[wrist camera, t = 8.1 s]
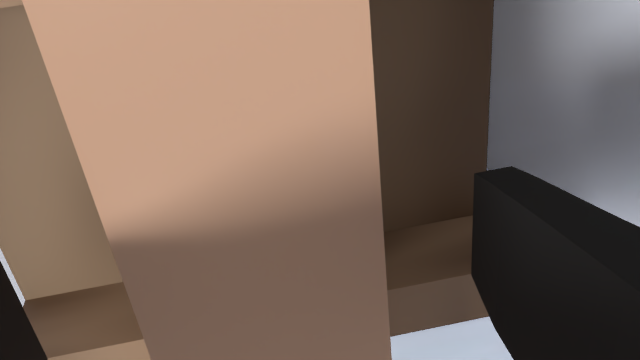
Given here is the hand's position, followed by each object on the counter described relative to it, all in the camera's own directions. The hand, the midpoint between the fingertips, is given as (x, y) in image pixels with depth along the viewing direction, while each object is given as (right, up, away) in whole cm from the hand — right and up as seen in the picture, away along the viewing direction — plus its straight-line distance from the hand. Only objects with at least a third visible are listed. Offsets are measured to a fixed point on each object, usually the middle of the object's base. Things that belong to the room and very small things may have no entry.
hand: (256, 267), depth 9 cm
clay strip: (-1, +2, +2) cm, 3 cm away
